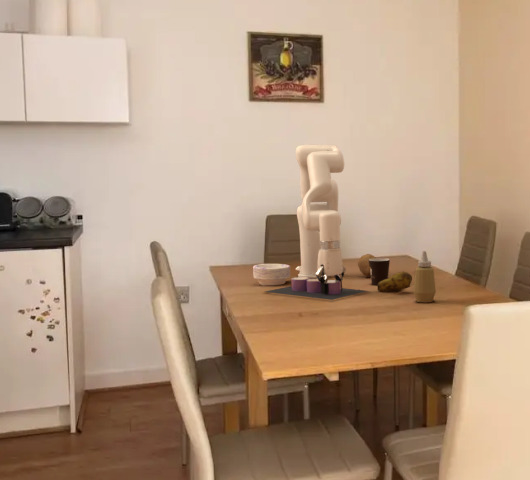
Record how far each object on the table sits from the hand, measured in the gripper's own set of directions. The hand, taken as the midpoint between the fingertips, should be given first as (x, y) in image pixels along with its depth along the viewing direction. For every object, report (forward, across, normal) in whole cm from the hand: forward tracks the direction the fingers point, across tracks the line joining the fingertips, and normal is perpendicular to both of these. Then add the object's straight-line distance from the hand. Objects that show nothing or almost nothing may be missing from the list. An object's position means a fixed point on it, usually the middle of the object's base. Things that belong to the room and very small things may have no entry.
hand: (331, 291), depth 294 cm
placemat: (+1, 0, -8) cm, 8 cm away
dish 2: (+1, 0, 0) cm, 1 cm away
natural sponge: (+1, -43, -15) cm, 45 cm away
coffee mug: (+1, -31, 0) cm, 31 cm away
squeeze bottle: (+1, -6, +38) cm, 39 cm away
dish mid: (0, 0, -8) cm, 8 cm away
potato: (+1, -16, +18) cm, 24 cm away
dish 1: (0, 0, -16) cm, 16 cm away
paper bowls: (+1, -6, -37) cm, 37 cm away
